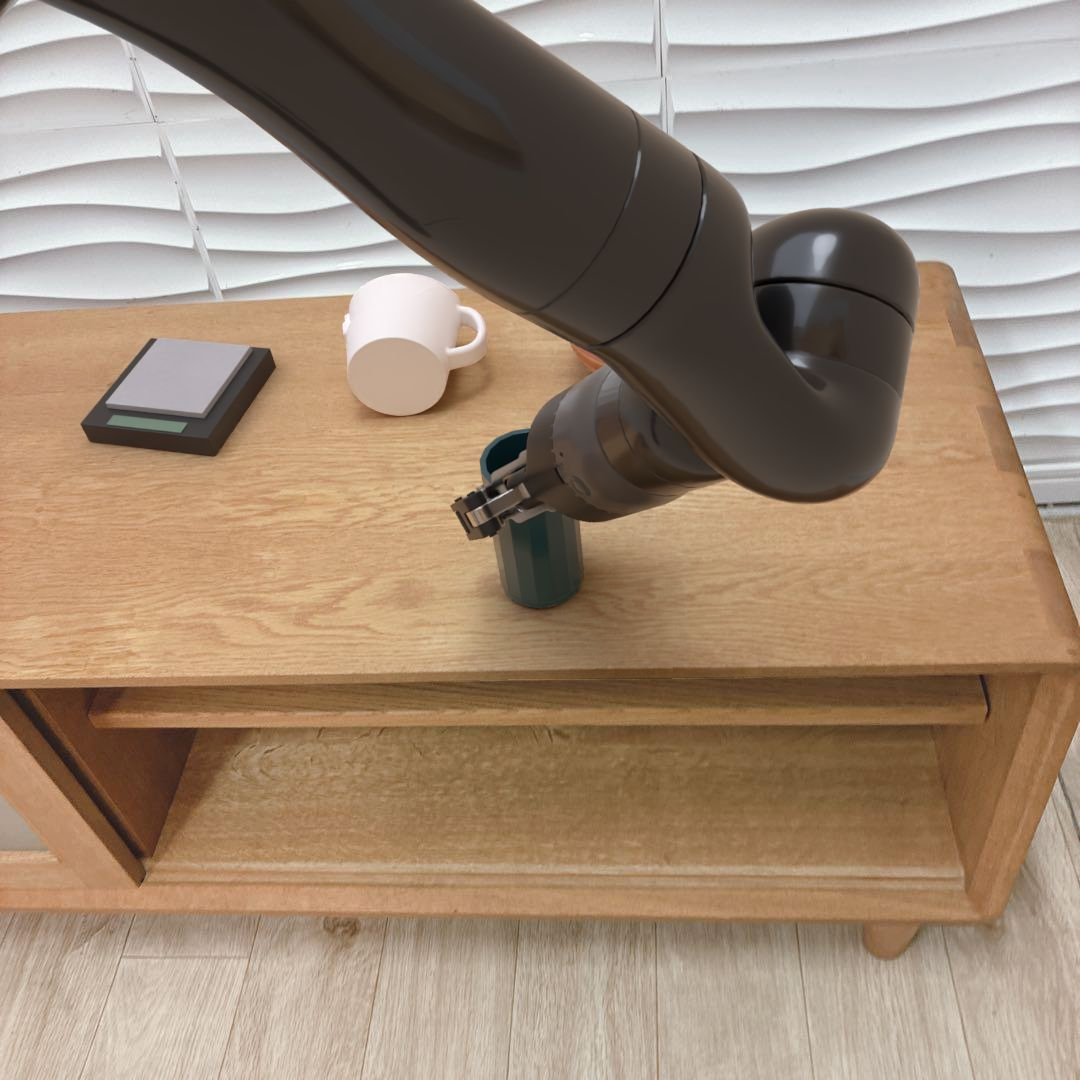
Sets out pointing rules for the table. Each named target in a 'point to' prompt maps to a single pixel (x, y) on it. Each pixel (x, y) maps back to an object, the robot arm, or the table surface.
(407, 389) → the mug
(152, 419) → the scale
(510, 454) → the cup
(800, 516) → the table surface
